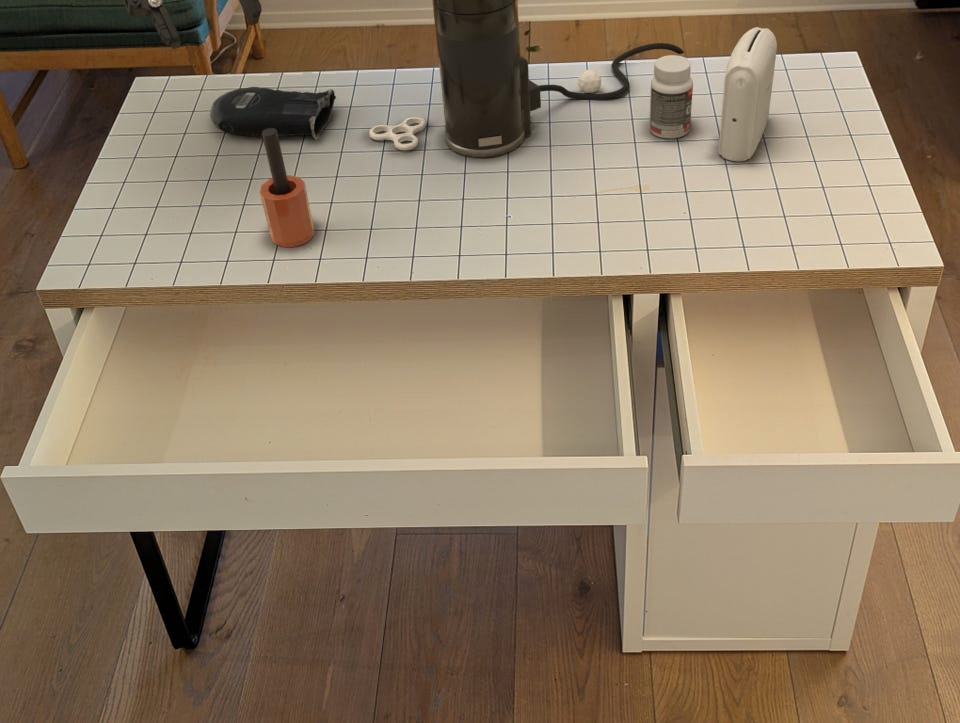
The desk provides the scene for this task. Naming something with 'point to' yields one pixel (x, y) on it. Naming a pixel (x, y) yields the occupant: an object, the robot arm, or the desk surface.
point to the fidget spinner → (400, 137)
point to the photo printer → (747, 94)
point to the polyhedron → (589, 81)
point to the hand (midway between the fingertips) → (217, 33)
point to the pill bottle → (671, 97)
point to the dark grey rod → (276, 161)
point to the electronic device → (272, 111)
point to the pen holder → (288, 213)
